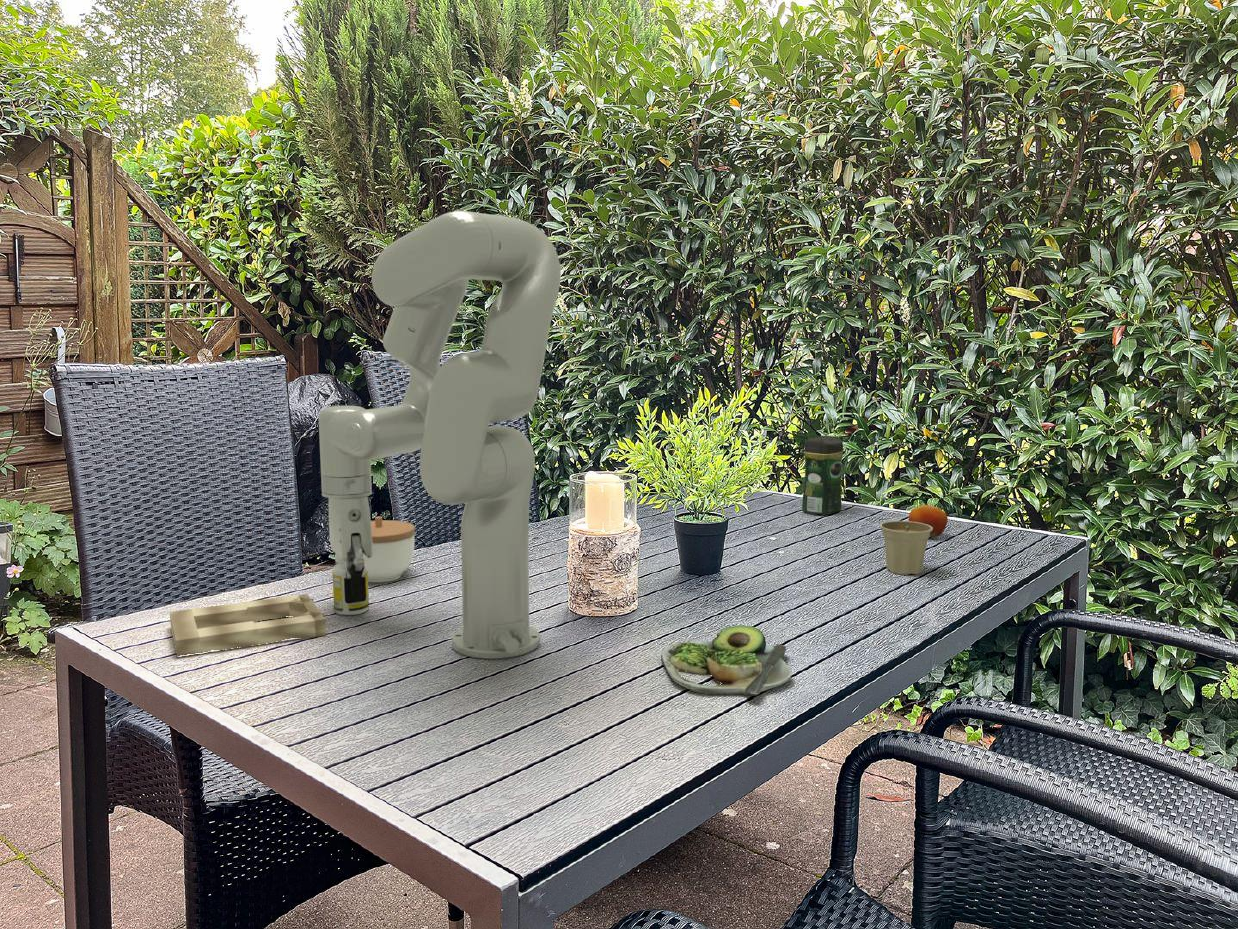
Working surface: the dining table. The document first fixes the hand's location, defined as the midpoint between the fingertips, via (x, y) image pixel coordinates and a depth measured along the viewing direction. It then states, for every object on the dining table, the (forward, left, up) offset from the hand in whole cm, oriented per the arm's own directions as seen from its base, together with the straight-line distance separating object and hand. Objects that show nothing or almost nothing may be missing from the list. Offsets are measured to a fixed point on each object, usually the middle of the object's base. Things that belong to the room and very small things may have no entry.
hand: (351, 595), depth 150 cm
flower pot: (-23, -97, -3) cm, 100 cm away
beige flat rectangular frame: (-3, +16, -2) cm, 16 cm away
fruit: (-5, -122, -3) cm, 122 cm away
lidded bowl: (+17, -9, -3) cm, 19 cm away
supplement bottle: (0, 0, -3) cm, 3 cm away
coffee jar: (+25, -118, -3) cm, 121 cm away
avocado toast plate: (-48, -39, -3) cm, 62 cm away
